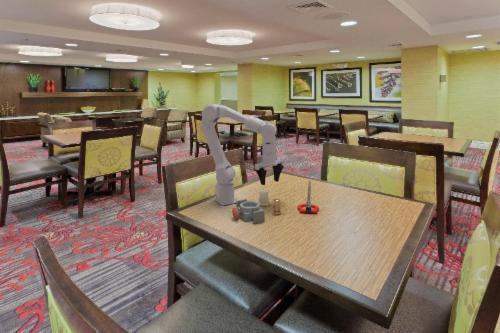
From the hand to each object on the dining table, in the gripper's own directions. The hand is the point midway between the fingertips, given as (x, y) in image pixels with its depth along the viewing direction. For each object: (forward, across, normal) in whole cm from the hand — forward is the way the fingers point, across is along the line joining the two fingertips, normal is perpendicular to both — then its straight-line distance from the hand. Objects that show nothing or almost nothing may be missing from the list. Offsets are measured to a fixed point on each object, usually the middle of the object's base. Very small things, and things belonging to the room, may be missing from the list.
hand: (269, 182), depth 140 cm
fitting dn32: (+10, -4, -9) cm, 14 cm away
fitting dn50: (+10, -2, +3) cm, 11 cm away
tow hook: (+11, +9, -14) cm, 20 cm away
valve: (+10, -16, -4) cm, 19 cm away
